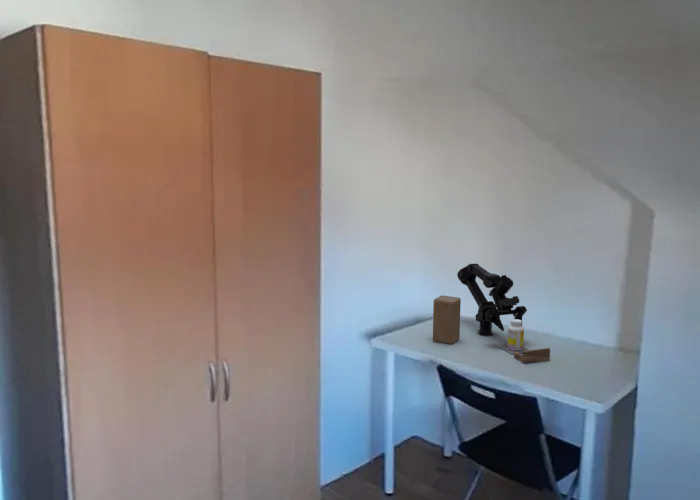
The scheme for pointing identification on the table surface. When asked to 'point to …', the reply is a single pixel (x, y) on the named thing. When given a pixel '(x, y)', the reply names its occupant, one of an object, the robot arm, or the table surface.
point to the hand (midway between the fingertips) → (512, 329)
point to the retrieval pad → (512, 350)
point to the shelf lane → (533, 355)
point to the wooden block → (446, 319)
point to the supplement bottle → (515, 335)
